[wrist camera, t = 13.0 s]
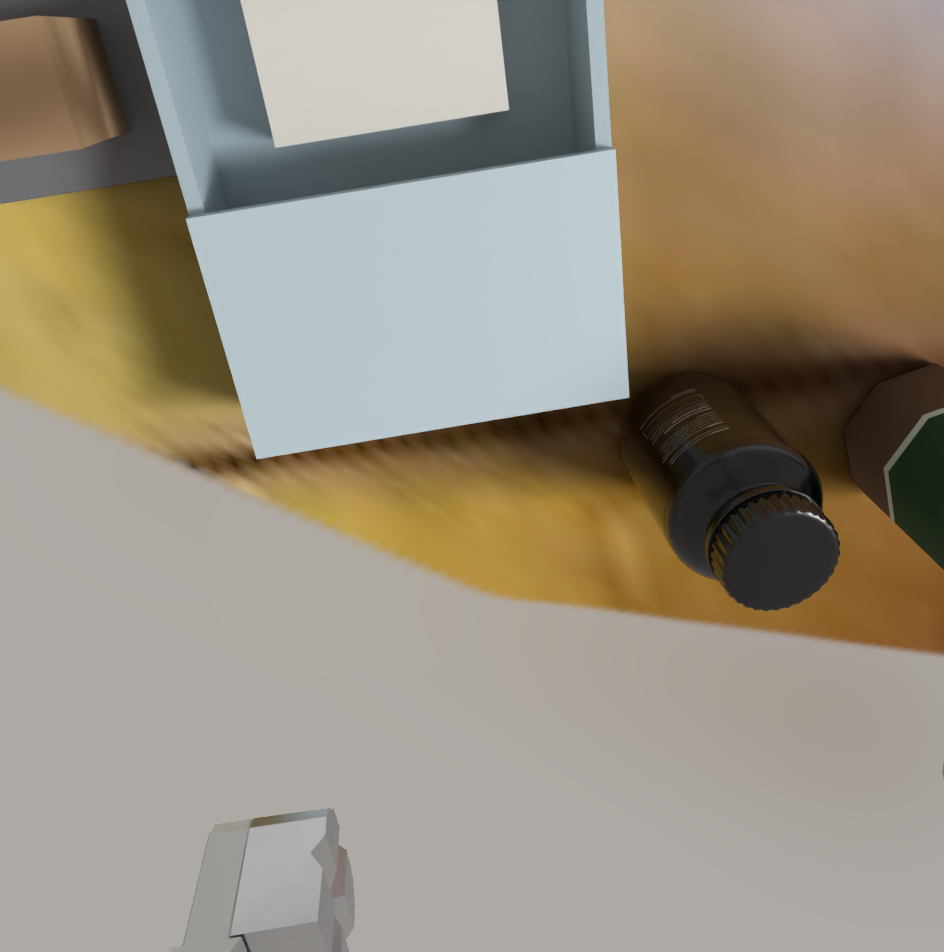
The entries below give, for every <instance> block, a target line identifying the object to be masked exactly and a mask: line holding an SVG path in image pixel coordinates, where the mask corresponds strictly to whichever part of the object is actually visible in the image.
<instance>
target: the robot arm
mask: <svg viewBox="0 0 944 952" xmlns="http://www.w3.org/2000/svg"><path fill="white" fill-rule="evenodd" d="M942 773H943V777H944V765H943V772H942ZM338 844H339V824H338V821H337V818H336V815H335V812H334V809H331V808H328V809H320V810H313V811H305V812H299V813H290V814H283V815H276V816H269V817H260V818H254V819H249V820H243V821H235V822H228V823H221V824H215V826H214V827H213V829H212V831H211V832H210V834H209V836H208V839H207V844H206V848H205V852H204V856H203V860H202V865H201V869H200V873H199V878H198V882H197V886H196V890H195V895H194V899H193V904H192V907H191V911H190V916H189V920H188V924H187V929H186V933H185V937H184V941H183V945H182V946H179V947H173V948H170V949H169V950H168V952H349V949H348V945H347V942H346V939H347V937H348V936H349V934H350V933H351V931H352V930H353V928H354V915H355V901H354V886H353V876H352V871H351V865H350V861H349V857H348V854H347V850H345V849H344V848H342V847H341V846H339V845H338Z"/></svg>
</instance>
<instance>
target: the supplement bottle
mask: <svg viewBox="0 0 944 952" xmlns="http://www.w3.org/2000/svg"><path fill="white" fill-rule="evenodd" d="M621 453H622V458H623V461H624V464H625V466H626V468H627V470H628V472H629V474H630V476H631V478H632V480H633V482H634V483H635V485H636V487H637V489H638V490H639V492H640V494H641V496H642V497H643V499H644V501H645V503H646V505H647V506H648V508H649V510H650V512H651V513H652V515H653V517H654V519H655V520H656V522H657V524H658V526H659V527H660V529H661V531H662V533H663V534H664V536H665V538H666V540H667V542H668V543H669V545H670V547H671V548H672V550H673V551H674V553H675V554H676V556H677V557H678V558H679V559H680V561H681V562H682V563H683V564H685V565H686V566H687V567H688V568H690V569H691V570H693V571H694V572H696V573H698V574H700V575H702V576H704V577H707V578H710V579H714V580H718V581H719V582H720V583H721V584H722V586H723V587H724V589H725V590H726V592H727V594H728V595H729V596H730V597H732V598H734V600H735V601H736V602H737V603H741V604H743V605H744V606H745V607H748V608H753V609H754V610H763V611H769V610H779V609H781V608H789V607H790V606H792V605H794V604H799V603H800V602H802V601H803V600H804V599H807V598H810V597H811V596H812V594H813V593H815V592H817V591H819V590H820V588H821V587H822V585H824V584H825V583H827V581H828V578H829V577H830V576H831V575H832V574H833V572H834V568H835V566H836V565H837V564H838V557H839V555H840V551H839V547H840V542H839V540H838V533H837V532H836V530H835V529H834V526H833V524H832V523H831V522H830V520H829V519H828V518H827V517H826V516H825V515H824V513H823V511H822V509H823V492H822V486H821V483H820V479H819V477H818V475H817V473H816V471H815V469H814V468H813V466H812V465H811V464H810V462H809V461H808V460H807V459H806V458H805V456H804V455H803V454H802V453H801V452H800V451H799V450H798V449H797V448H796V447H795V446H794V445H793V444H792V443H791V442H790V441H789V440H788V439H787V438H786V437H785V436H784V435H783V434H782V433H781V432H780V431H779V430H778V429H777V428H776V427H775V426H774V425H773V424H772V423H771V422H770V421H769V420H768V419H767V418H766V417H765V416H764V415H763V414H762V413H761V412H760V411H759V410H758V409H757V408H756V407H755V406H754V405H753V404H752V403H751V402H750V401H749V400H748V399H747V398H746V397H745V396H744V395H743V394H741V393H740V392H739V391H738V390H737V389H736V388H735V387H734V386H732V385H731V384H729V383H728V382H726V381H724V380H722V379H720V378H717V377H714V376H710V375H705V374H686V375H680V376H676V377H673V378H670V379H668V380H665V381H663V382H661V383H659V384H658V385H656V386H654V387H653V388H651V389H650V390H649V391H647V392H646V393H645V394H644V395H643V396H642V397H641V398H640V399H639V400H638V401H637V402H636V404H635V405H634V406H633V408H632V409H631V411H630V412H629V414H628V416H627V418H626V420H625V423H624V426H623V430H622V435H621Z"/></svg>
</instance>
